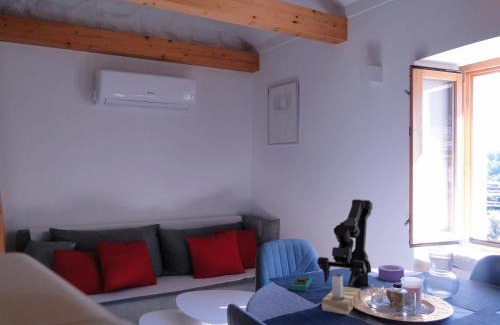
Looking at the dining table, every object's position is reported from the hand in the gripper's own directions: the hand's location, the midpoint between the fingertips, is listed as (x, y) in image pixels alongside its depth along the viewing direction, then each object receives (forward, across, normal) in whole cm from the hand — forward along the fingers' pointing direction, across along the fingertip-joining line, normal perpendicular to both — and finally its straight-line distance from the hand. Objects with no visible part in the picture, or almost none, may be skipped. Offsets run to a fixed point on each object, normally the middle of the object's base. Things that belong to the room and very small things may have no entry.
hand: (337, 284), depth 163 cm
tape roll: (-30, +10, +45) cm, 55 cm away
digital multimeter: (-8, -24, +23) cm, 34 cm away
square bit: (+6, 0, +8) cm, 10 cm away
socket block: (+2, 0, +11) cm, 11 cm away
